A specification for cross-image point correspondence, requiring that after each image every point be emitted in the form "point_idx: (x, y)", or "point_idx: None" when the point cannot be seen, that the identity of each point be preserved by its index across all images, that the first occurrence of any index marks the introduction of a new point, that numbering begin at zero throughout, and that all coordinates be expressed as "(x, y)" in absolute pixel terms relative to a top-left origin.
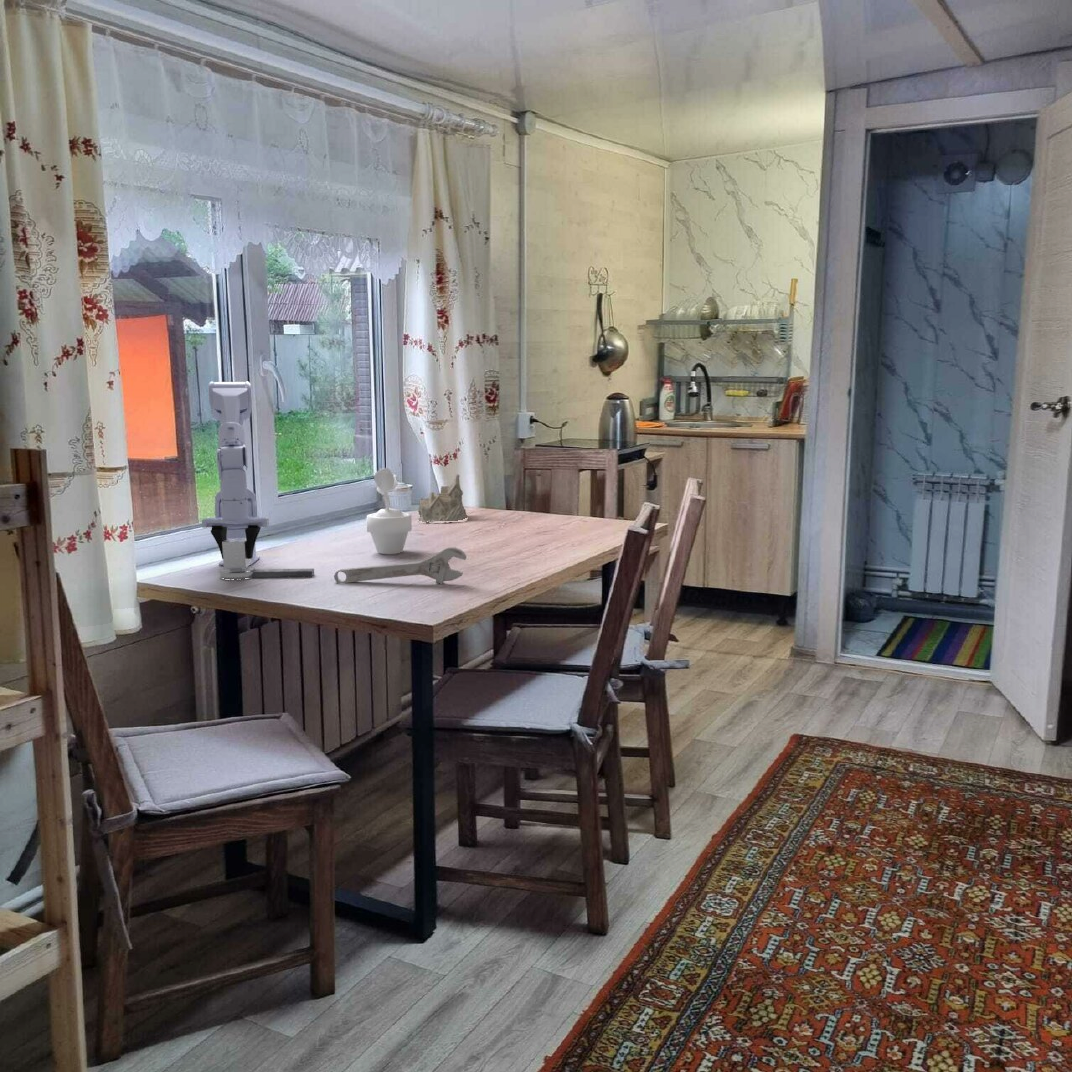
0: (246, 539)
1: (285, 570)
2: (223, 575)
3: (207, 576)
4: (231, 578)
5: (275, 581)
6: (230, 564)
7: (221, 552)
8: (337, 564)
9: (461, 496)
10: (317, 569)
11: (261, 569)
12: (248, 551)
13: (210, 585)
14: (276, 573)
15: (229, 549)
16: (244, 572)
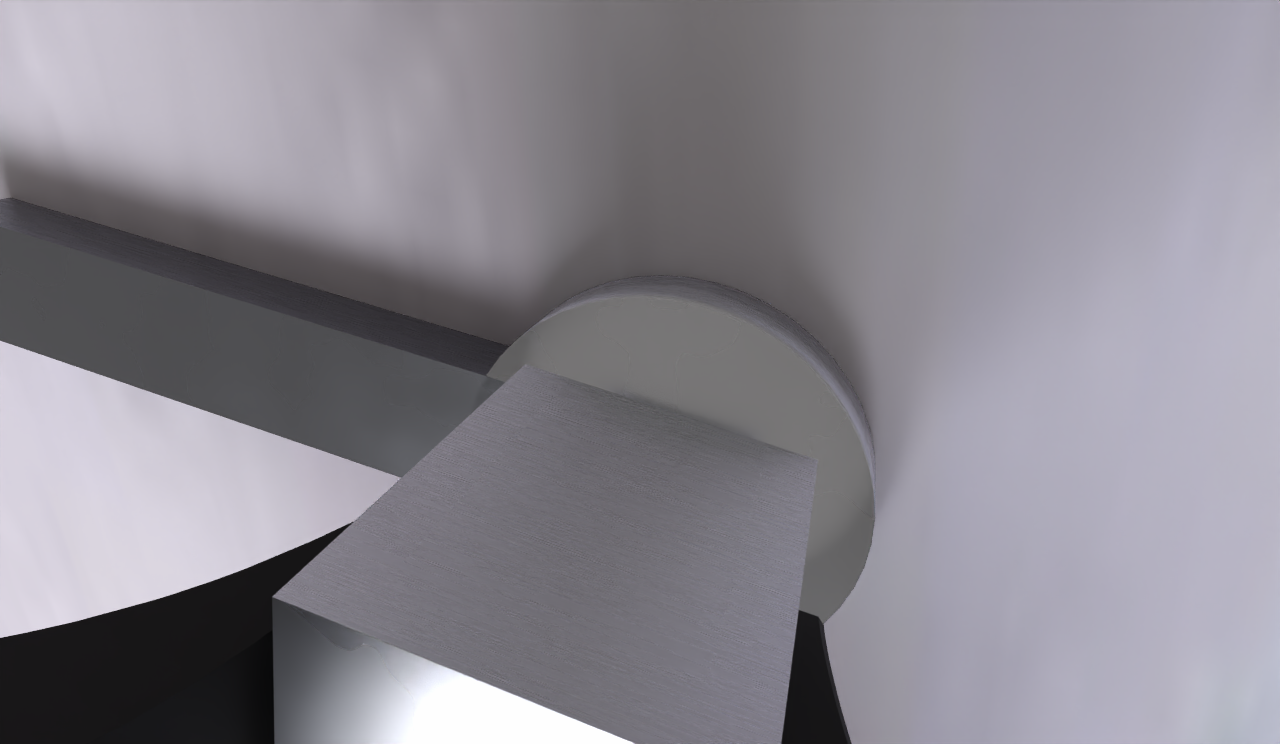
0: (222, 667)
1: (179, 328)
2: (834, 388)
3: (1016, 611)
4: (740, 301)
5: (268, 86)
6: (713, 449)
7: (822, 686)
8: (13, 609)
9: None
10: (78, 504)
11: None
12: None
13: (1047, 36)
14: (265, 296)
15: (656, 605)
16: (576, 376)
